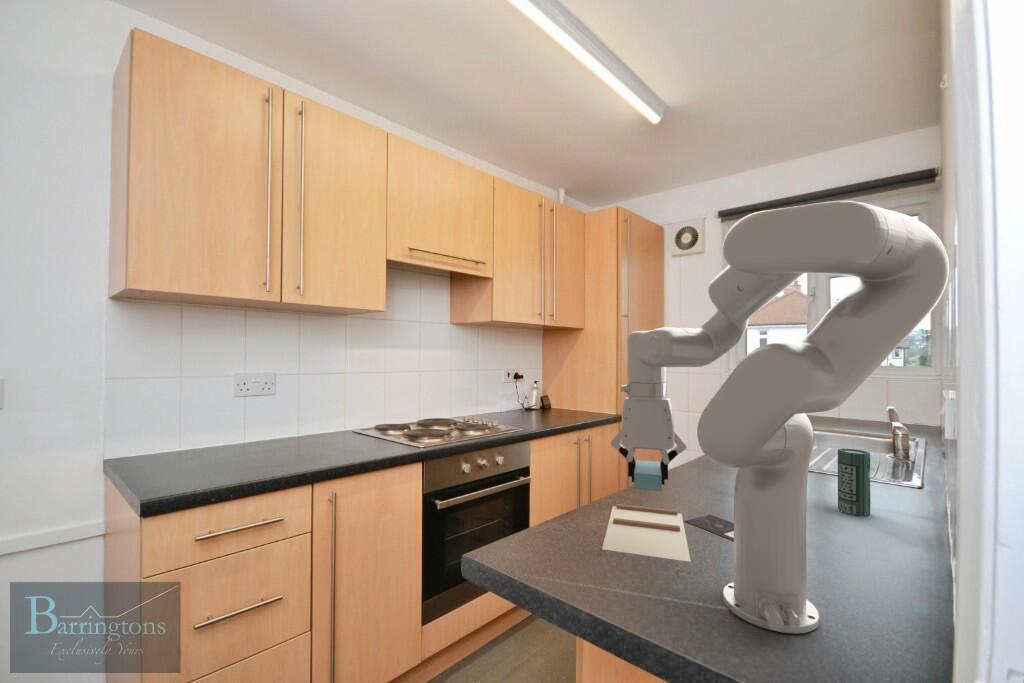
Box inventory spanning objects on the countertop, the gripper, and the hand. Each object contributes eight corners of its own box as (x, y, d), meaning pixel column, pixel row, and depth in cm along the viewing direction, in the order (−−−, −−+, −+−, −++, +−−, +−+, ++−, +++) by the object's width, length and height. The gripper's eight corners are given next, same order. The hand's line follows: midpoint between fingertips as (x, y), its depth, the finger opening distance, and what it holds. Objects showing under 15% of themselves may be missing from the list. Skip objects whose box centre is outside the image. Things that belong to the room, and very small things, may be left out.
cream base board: (690, 563, 82) (690, 557, 82) (601, 551, 87) (602, 545, 87) (681, 515, 107) (681, 510, 107) (612, 507, 112) (612, 502, 112)
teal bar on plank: (661, 491, 85) (661, 475, 85) (634, 488, 86) (634, 473, 86) (660, 475, 96) (660, 461, 96) (636, 474, 98) (635, 460, 98)
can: (875, 514, 110) (875, 452, 110) (859, 517, 107) (859, 454, 108) (848, 506, 115) (848, 447, 116) (833, 509, 113) (832, 449, 113)
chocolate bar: (710, 514, 107) (788, 542, 91) (710, 518, 107) (788, 547, 91) (684, 521, 102) (761, 552, 87) (684, 525, 102) (761, 557, 87)
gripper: (602, 391, 91) (603, 483, 90) (693, 393, 86) (695, 490, 85) (606, 389, 98) (606, 474, 97) (690, 391, 93) (691, 480, 92)
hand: (647, 480), depth 91 cm, fingers closed on teal bar on plank, 5 cm apart
